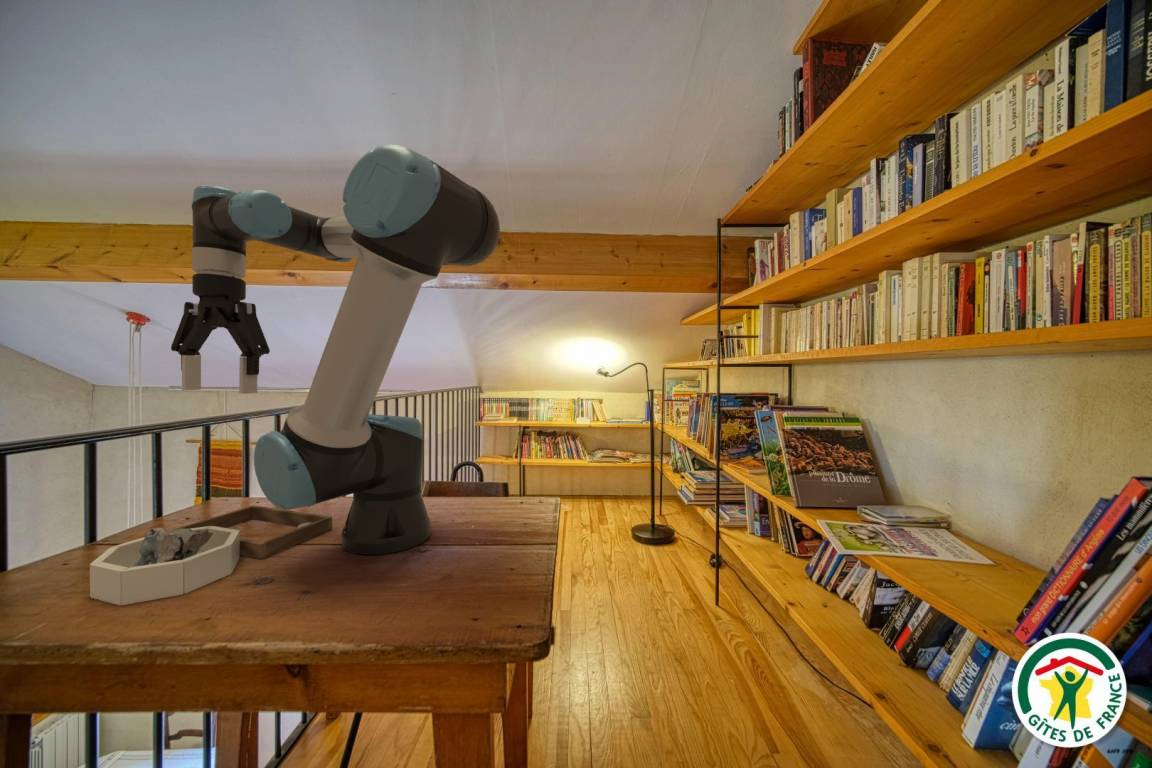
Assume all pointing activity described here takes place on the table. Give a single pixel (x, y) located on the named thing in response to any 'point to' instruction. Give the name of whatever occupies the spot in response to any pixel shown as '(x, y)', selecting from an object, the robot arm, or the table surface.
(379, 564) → the table surface
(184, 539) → the mineral specimen
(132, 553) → the bowl
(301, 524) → the pebble
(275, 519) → the frame
